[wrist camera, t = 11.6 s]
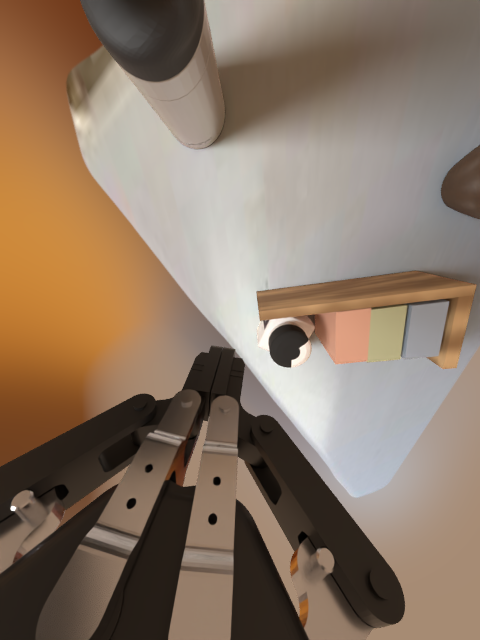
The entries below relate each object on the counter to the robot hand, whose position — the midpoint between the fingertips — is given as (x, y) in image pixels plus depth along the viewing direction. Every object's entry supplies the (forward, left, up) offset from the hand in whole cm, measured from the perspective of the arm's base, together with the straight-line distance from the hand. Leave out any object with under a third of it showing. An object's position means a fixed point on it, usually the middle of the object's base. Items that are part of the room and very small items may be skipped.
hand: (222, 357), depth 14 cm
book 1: (+10, +16, -31) cm, 37 cm away
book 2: (+10, +21, -31) cm, 39 cm away
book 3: (+11, +27, -31) cm, 43 cm away
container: (+11, +7, -32) cm, 34 cm away
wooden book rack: (+11, +18, -31) cm, 38 cm away
